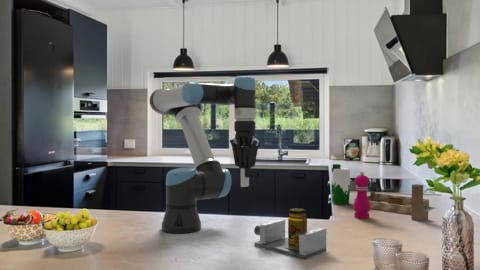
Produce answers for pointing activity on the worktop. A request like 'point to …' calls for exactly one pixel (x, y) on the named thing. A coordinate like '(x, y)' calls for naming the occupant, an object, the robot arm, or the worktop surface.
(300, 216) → the condiment
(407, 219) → the worktop surface
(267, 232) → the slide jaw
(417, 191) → the wooden block
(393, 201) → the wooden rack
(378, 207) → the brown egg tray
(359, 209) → the pepper mill
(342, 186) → the milk carton
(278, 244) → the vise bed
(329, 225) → the worktop surface
